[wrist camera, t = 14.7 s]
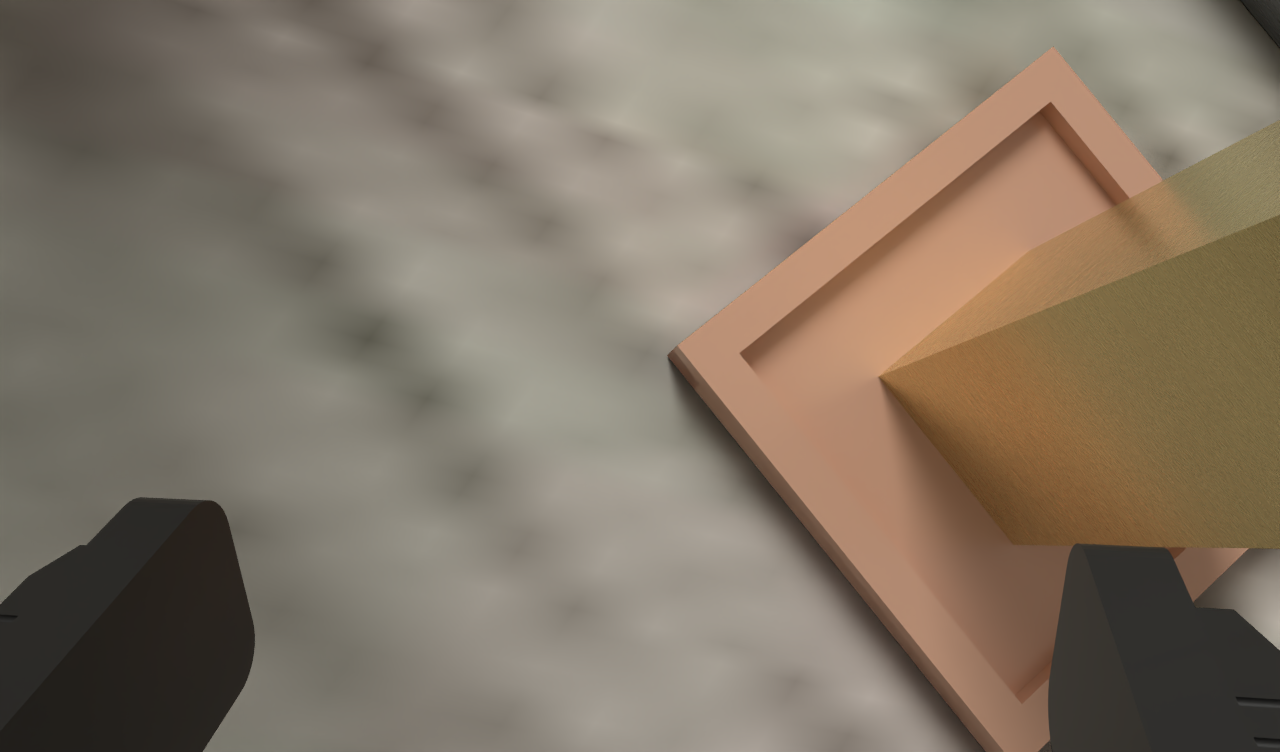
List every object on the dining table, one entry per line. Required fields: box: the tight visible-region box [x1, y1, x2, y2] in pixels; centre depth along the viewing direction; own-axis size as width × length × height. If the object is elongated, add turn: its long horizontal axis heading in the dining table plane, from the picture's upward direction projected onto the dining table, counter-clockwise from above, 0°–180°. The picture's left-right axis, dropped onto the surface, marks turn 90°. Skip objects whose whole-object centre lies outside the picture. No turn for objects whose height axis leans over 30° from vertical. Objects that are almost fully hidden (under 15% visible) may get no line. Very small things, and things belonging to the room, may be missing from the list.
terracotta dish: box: [667, 47, 1249, 752], centre depth 27 cm, size 12×12×1 cm
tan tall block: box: [878, 120, 1280, 549], centre depth 19 cm, size 5×5×17 cm
